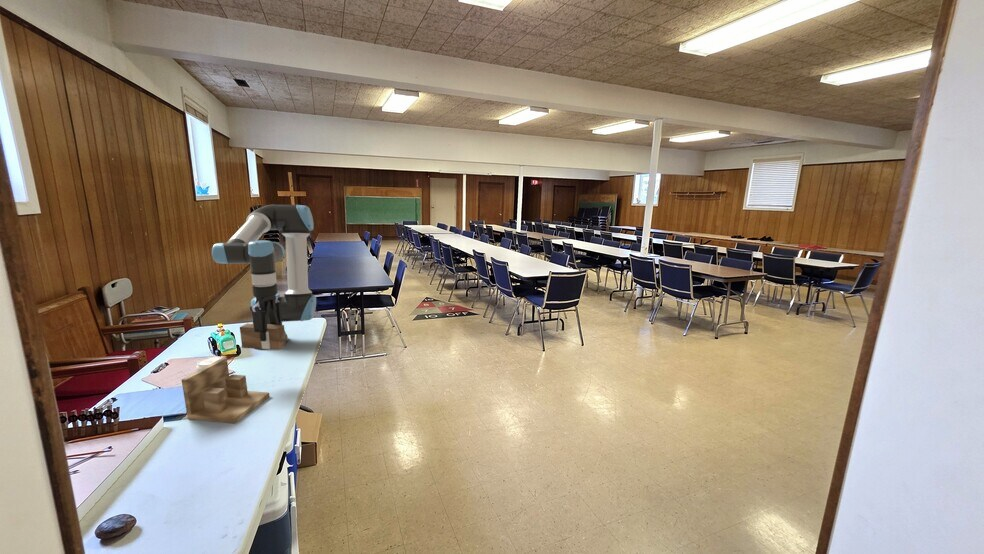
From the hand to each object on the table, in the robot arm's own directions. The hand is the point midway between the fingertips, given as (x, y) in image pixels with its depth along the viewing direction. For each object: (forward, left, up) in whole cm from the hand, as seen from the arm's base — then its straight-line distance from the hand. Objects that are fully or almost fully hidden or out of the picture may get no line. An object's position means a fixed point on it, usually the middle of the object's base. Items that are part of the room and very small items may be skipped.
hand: (270, 345), depth 139 cm
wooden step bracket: (+17, -4, -15) cm, 23 cm away
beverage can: (+9, -17, -15) cm, 24 cm away
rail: (0, -3, 0) cm, 3 cm away
